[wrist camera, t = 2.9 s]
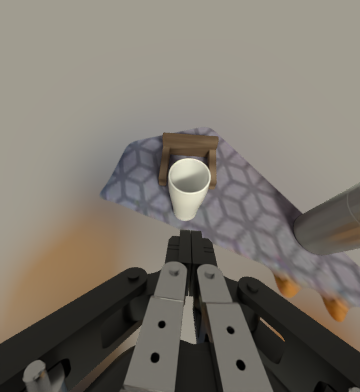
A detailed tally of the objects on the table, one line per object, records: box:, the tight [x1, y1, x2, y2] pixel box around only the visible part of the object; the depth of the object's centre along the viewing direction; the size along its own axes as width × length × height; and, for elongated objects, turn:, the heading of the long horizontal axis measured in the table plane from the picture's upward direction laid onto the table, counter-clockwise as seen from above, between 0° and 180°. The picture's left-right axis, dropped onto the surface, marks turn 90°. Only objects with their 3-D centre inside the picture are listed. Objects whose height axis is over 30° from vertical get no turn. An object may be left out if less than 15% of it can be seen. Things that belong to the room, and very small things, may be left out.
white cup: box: [168, 158, 211, 221], centre depth 35 cm, size 7×7×15 cm
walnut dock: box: [159, 133, 219, 189], centre depth 44 cm, size 11×13×6 cm
